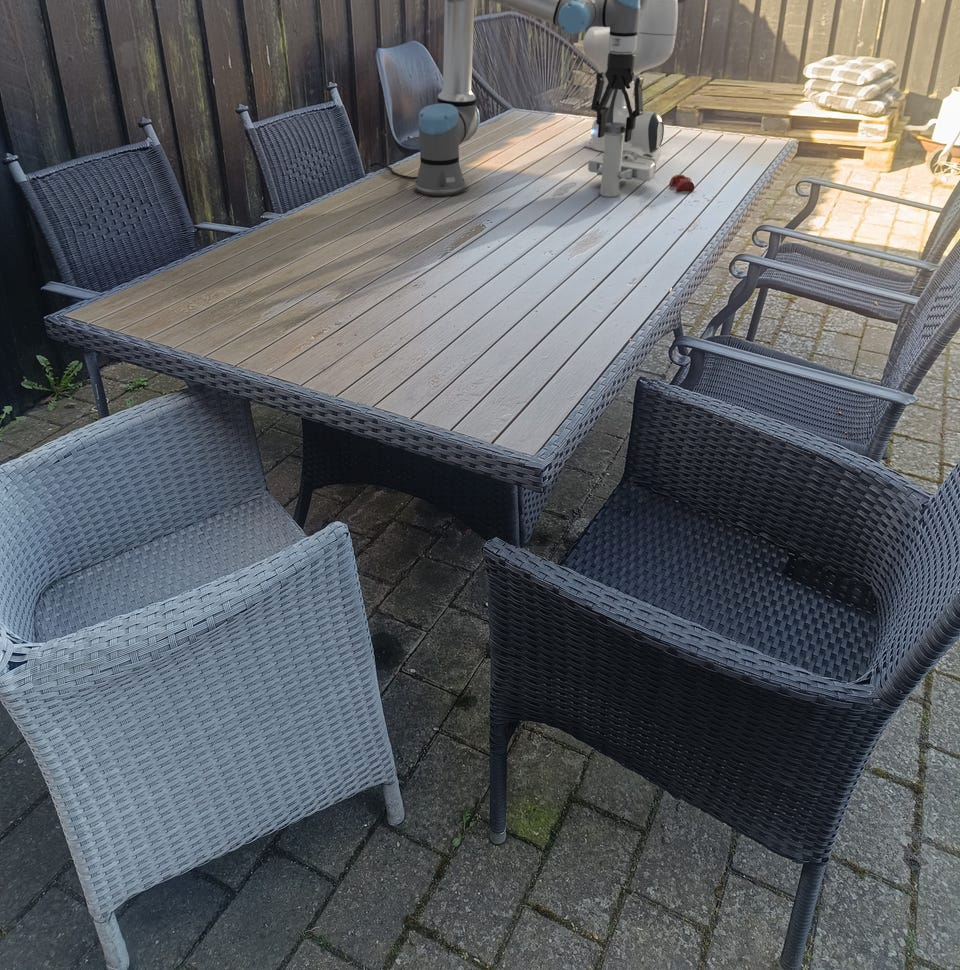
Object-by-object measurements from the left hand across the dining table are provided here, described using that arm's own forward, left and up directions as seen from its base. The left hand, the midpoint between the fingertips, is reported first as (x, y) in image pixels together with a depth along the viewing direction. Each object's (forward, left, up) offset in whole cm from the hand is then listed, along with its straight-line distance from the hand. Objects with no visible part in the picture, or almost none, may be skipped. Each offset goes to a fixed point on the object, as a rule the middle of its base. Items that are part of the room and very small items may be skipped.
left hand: (614, 138), depth 246 cm
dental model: (+15, +18, -16) cm, 28 cm away
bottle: (0, 0, -16) cm, 16 cm away
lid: (0, 0, +4) cm, 4 cm away
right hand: (0, -1, -10) cm, 10 cm away
